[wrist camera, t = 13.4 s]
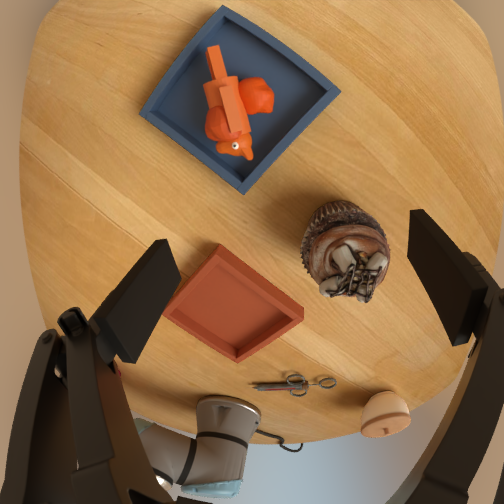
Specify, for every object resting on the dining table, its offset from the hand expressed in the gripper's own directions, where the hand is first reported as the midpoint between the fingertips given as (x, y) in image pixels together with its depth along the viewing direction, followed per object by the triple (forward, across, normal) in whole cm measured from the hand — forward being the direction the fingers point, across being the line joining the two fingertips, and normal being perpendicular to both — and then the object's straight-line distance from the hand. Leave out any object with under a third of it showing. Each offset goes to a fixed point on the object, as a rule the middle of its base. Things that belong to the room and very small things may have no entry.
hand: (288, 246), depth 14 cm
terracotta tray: (+18, +12, +19) cm, 29 cm away
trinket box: (+18, -14, +49) cm, 55 cm away
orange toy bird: (+18, +4, -8) cm, 20 cm away
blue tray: (+18, +4, -9) cm, 20 cm away
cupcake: (+18, -5, +8) cm, 21 cm away
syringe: (+18, +5, +40) cm, 44 cm away
